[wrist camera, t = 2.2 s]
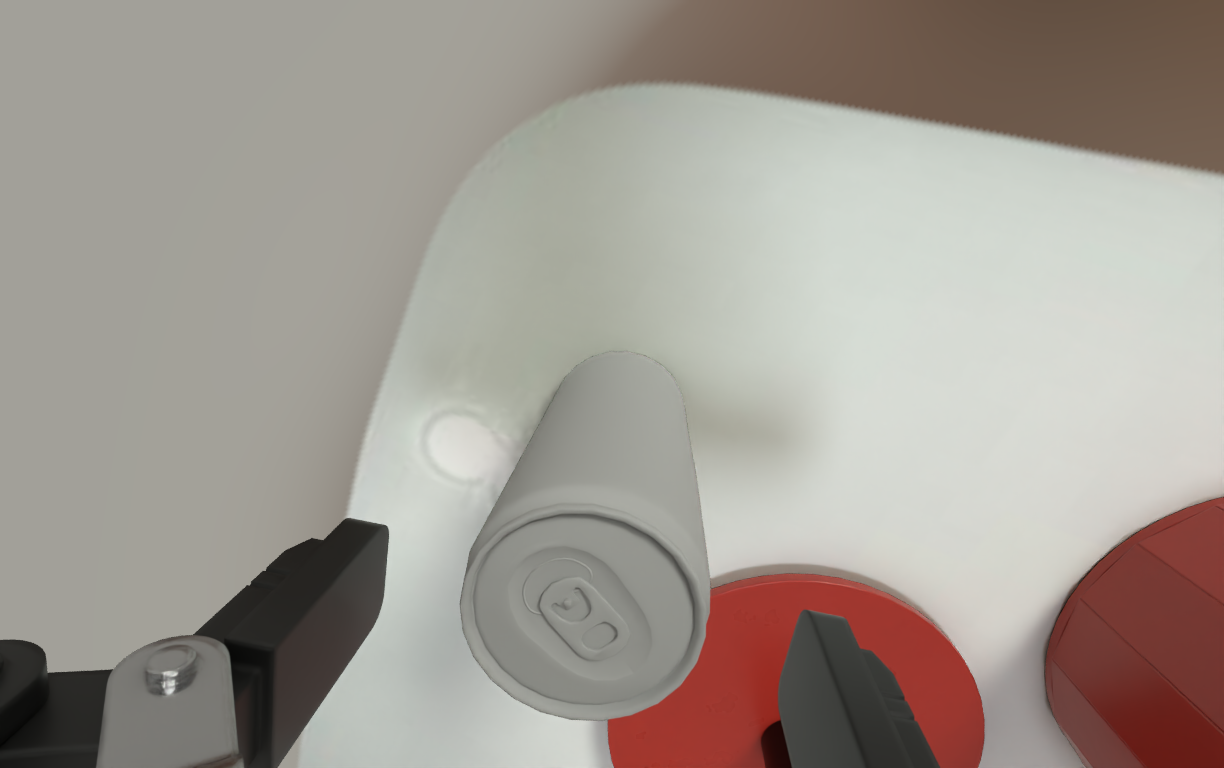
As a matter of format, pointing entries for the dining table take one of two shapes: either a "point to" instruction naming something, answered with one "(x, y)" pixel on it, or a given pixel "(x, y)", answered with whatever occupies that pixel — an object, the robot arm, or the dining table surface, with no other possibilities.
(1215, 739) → the pot
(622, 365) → the beverage can
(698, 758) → the lid
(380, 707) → the dining table surface
